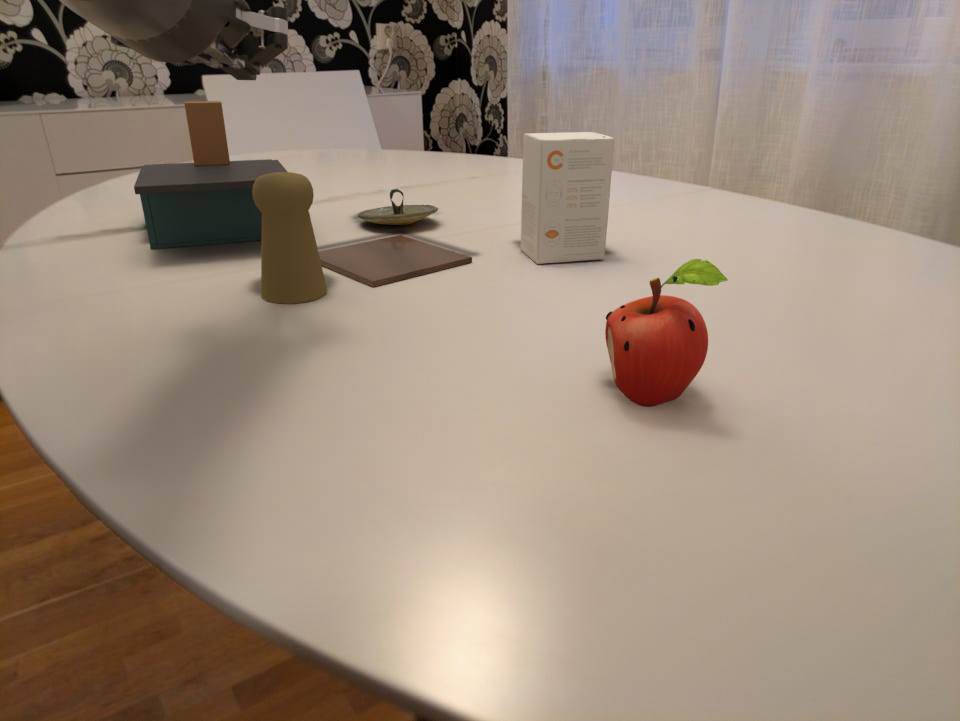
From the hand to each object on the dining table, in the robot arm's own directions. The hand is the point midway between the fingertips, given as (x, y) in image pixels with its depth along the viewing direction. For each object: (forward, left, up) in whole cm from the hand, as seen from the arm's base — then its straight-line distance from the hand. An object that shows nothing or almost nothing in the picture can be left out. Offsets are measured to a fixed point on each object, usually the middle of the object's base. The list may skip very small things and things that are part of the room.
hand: (247, 67), depth 55 cm
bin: (+6, +27, -19) cm, 34 cm away
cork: (+1, -1, -20) cm, 20 cm away
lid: (+25, +15, -20) cm, 36 cm away
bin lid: (+4, +21, -12) cm, 24 cm away
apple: (+8, -36, -20) cm, 42 cm away
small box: (+30, -9, -20) cm, 37 cm away
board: (+14, +2, -19) cm, 24 cm away
